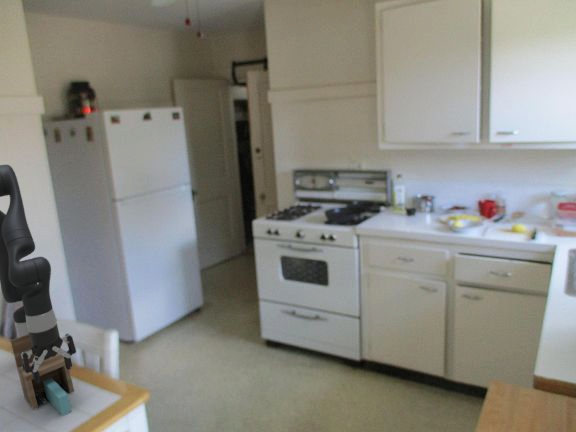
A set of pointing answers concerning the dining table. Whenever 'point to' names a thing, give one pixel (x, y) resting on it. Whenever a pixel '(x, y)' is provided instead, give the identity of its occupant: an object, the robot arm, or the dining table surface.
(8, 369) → the dining table surface
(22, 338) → the walnut shelf
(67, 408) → the panel
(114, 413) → the dining table surface
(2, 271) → the robot arm
